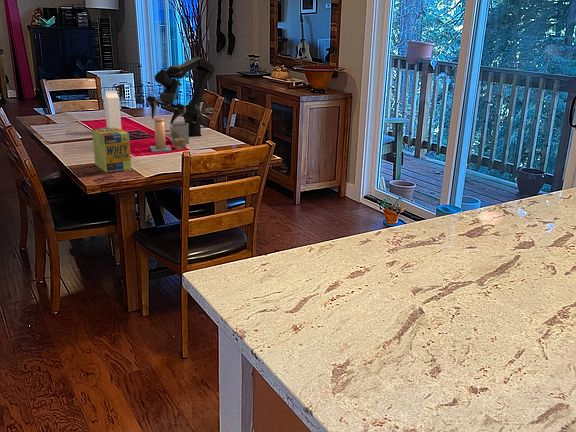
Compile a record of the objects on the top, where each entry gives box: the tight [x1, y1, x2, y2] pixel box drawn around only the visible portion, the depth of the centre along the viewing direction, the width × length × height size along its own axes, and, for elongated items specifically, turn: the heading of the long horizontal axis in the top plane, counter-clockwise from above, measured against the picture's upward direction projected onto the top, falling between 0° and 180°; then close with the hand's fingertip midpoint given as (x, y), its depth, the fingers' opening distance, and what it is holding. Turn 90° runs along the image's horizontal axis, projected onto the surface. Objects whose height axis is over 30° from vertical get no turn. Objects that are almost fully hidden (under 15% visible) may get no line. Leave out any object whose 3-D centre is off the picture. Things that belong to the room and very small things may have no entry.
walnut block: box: [172, 138, 187, 151], centre depth 267 cm, size 4×4×4 cm
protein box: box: [91, 127, 132, 174], centre depth 231 cm, size 10×15×16 cm
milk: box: [103, 89, 122, 130], centre depth 291 cm, size 6×6×22 cm
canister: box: [153, 117, 167, 149], centre depth 262 cm, size 5×5×14 cm
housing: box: [169, 121, 190, 145], centre depth 278 cm, size 8×8×10 cm
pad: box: [149, 144, 173, 153], centre depth 264 cm, size 9×9×1 cm
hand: (161, 121), depth 270 cm, fingers open, 9 cm apart
